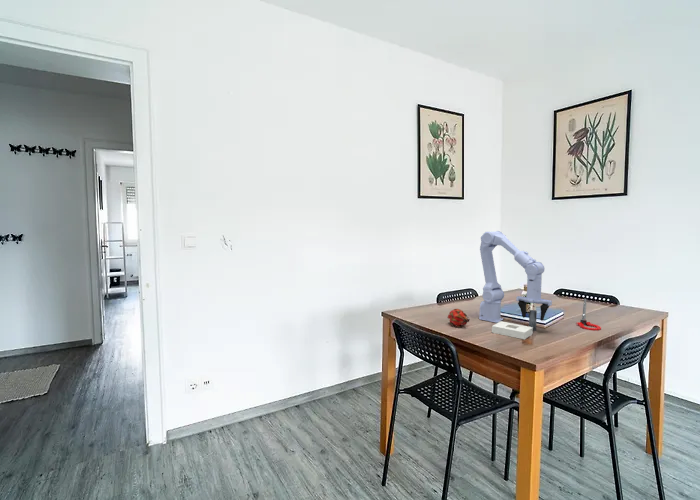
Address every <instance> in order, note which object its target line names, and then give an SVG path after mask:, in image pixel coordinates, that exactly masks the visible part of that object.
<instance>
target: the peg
mask: <svg viewBox="0 0 700 500" xmlns="http://www.w3.org/2000/svg"><path fill="white" fill-rule="evenodd" d="M537 315H538V311H537V310H536V309H529V314H528V327H533V332H536V331H537V317H538V316H537Z"/></svg>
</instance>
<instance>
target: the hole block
mask: <svg viewBox="0 0 700 500" xmlns="http://www.w3.org/2000/svg"><path fill="white" fill-rule="evenodd" d="M533 332H534V331H533V327H529V325H528V326H527V325H522V324H517V323H512V322H506V321H503V320H502V321H500V322H498V323H495V324H493V325H492V326H491V333H492V334H495V335H496V334H497V335H502V336H506V337H511V338H515V339H516V338H517V339H520V340H526V339H528V338H529V337H530V336H532V335H534V334H533Z"/></svg>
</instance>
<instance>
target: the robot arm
mask: <svg viewBox="0 0 700 500" xmlns="http://www.w3.org/2000/svg"><path fill="white" fill-rule="evenodd" d="M507 237H508V236H507V235H506V234H504V233H503V232H502V231H499V230H496V231H485V232H484V233H482V235H481V236H480V245H479V252H480V257H481V259H480V260H481V264H482V269H483V276H484V281H485V284H484V286H482V290H483V291H482V299H483V300H482V301H481V302H480V304H479V317H478V319H479V320H481V321H482V320H483V321H486V322H491V323H495V324H497V323H498V322H500V321H502V322H503V320H504V318H502V317H501V315H502V314H501V311H502V309H501V308H502V300H503V299H504V298H505V292H504V291H503V289H502V286H501V284H500V283H499V282H498V278H497V274H496V267H495V266H496V265H495V261H494V257H493V256H494V255H493V250H494V249H495V248H496V247H497V246H501V247H503V248H504V249H505V250H506V251H508V252H509V253H510V254H512V255H513V257H514V258H513V259H514V261H515V262H517V263H518V264H519V265H520V266H521V267H522V268H523V269H524V272H525V274H526V280H527V283H526V284H527V285H526V296H519V295H517V296H516V297H515V298H516V299H515V301H516V302H517V305H518V307H519V309H520V311H521V312H520V313H521V315H522V318H523V319H524V318H526V317H527V304H528V303H530V304H537V305H540V306H539V308H540V320H539V321H542V322H543V321H544V320H545V316H546V314H547V312H548V310H549V307H550V306H552V305H553V304H552V303H553V300H550V299H549V300H548V299H544V298H542V278H543V275H542V274H544V272H545V265H544V264H543V263H542V262H540V261H537V260H536V259H535V258H533V257H532V256H531V255H529V252H528V251H525V250H520V249H519V248H518V247H517V246H516V245H515V244H514V243H513V242H512V241H511V240H510V239H509V238H507Z"/></svg>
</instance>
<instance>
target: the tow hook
mask: <svg viewBox="0 0 700 500" xmlns="http://www.w3.org/2000/svg"><path fill="white" fill-rule="evenodd" d="M583 299H584V300H583V301H584V302H583V304H582V305H583V306H582V314H581V319H579V320H580V321H579V322H578V321H577V322H576V323H575V325H576V326H579V328H581V329H583V330H586V331H597V332H598V331H601V330H602V327H601V326H600V325H598V324H594V323H592V322H590V321H587V315H586V313H587V298H583ZM589 326H590V327H589Z"/></svg>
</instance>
